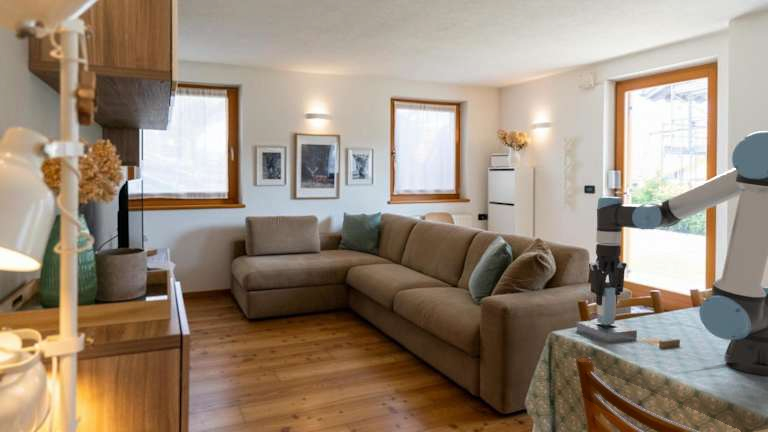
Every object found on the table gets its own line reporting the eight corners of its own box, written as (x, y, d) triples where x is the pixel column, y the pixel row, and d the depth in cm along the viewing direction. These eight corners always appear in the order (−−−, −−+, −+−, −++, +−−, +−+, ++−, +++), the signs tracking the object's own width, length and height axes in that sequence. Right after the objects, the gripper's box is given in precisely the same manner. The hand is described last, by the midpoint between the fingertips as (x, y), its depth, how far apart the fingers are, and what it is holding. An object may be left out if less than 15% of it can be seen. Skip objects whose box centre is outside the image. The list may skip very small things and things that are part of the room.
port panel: (636, 342, 166) (636, 329, 166) (606, 345, 163) (606, 332, 162) (605, 330, 180) (605, 318, 179) (576, 333, 176) (576, 320, 176)
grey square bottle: (614, 324, 170) (615, 283, 169) (605, 324, 169) (606, 283, 168) (606, 321, 173) (607, 281, 172) (597, 322, 172) (598, 281, 171)
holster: (679, 349, 160) (679, 339, 159) (661, 351, 157) (662, 341, 157) (656, 340, 168) (656, 331, 168) (638, 342, 166) (639, 333, 166)
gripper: (620, 241, 175) (618, 309, 177) (579, 243, 170) (577, 313, 172) (637, 244, 168) (635, 315, 170) (595, 246, 163) (593, 319, 164)
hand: (606, 313), depth 171 cm, fingers closed on grey square bottle, 4 cm apart
